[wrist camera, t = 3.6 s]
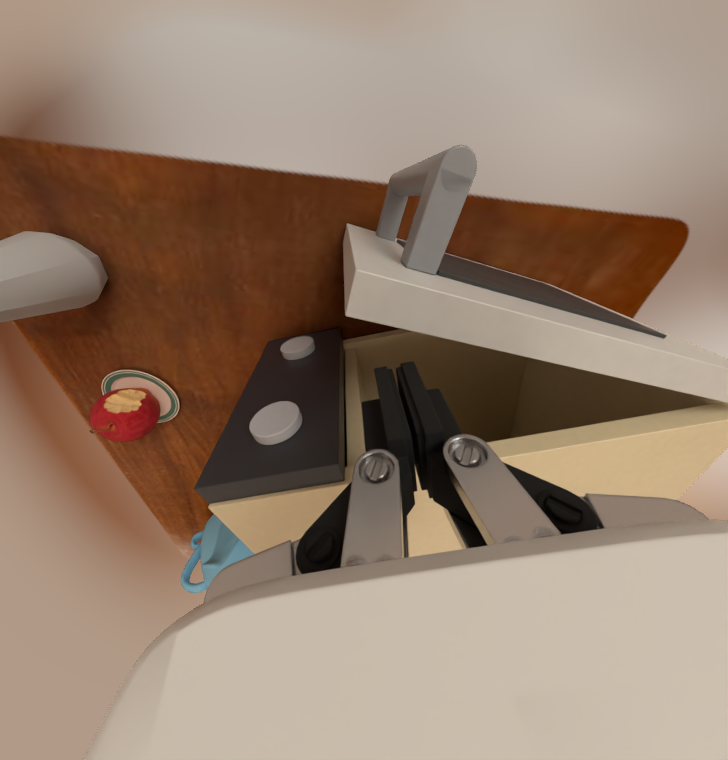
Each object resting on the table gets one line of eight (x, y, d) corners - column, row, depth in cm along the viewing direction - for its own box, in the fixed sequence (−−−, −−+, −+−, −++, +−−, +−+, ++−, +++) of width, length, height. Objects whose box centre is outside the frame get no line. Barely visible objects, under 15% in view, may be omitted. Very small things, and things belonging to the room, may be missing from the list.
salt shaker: (102, 232, 22) (-122, 266, 11) (129, 300, 25) (-25, 375, 15) (22, 224, 21) (-296, 251, 11) (61, 294, 24) (-154, 369, 14)
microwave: (265, 334, 28) (183, 483, 13) (547, 278, 27) (796, 377, 12) (324, 469, 42) (315, 615, 27) (511, 437, 41) (607, 573, 26)
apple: (88, 374, 29) (32, 413, 24) (156, 362, 29) (114, 398, 24) (135, 424, 34) (96, 466, 29) (194, 413, 34) (166, 454, 28)
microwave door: (358, 162, 20) (399, 78, 6) (578, 240, 25) (911, 300, 10) (342, 243, 24) (344, 316, 9) (540, 299, 28) (754, 409, 13)
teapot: (273, 541, 55) (256, 632, 43) (183, 506, 45) (130, 611, 34) (330, 510, 49) (326, 605, 38) (241, 464, 40) (201, 571, 29)
